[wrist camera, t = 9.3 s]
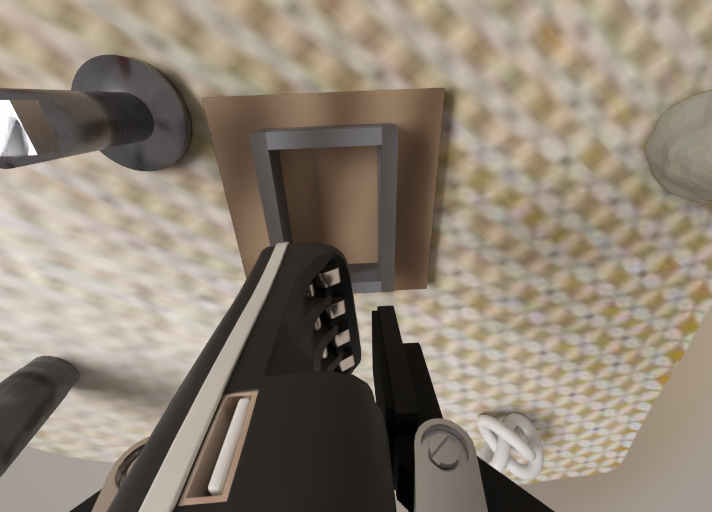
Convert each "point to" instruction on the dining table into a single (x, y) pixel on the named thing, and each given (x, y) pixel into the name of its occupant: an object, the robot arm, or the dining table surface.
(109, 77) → the post
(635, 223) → the dining table surface
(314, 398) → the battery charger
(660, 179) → the ceramic sculpture
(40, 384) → the beverage cup
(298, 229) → the holder
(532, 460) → the knot
